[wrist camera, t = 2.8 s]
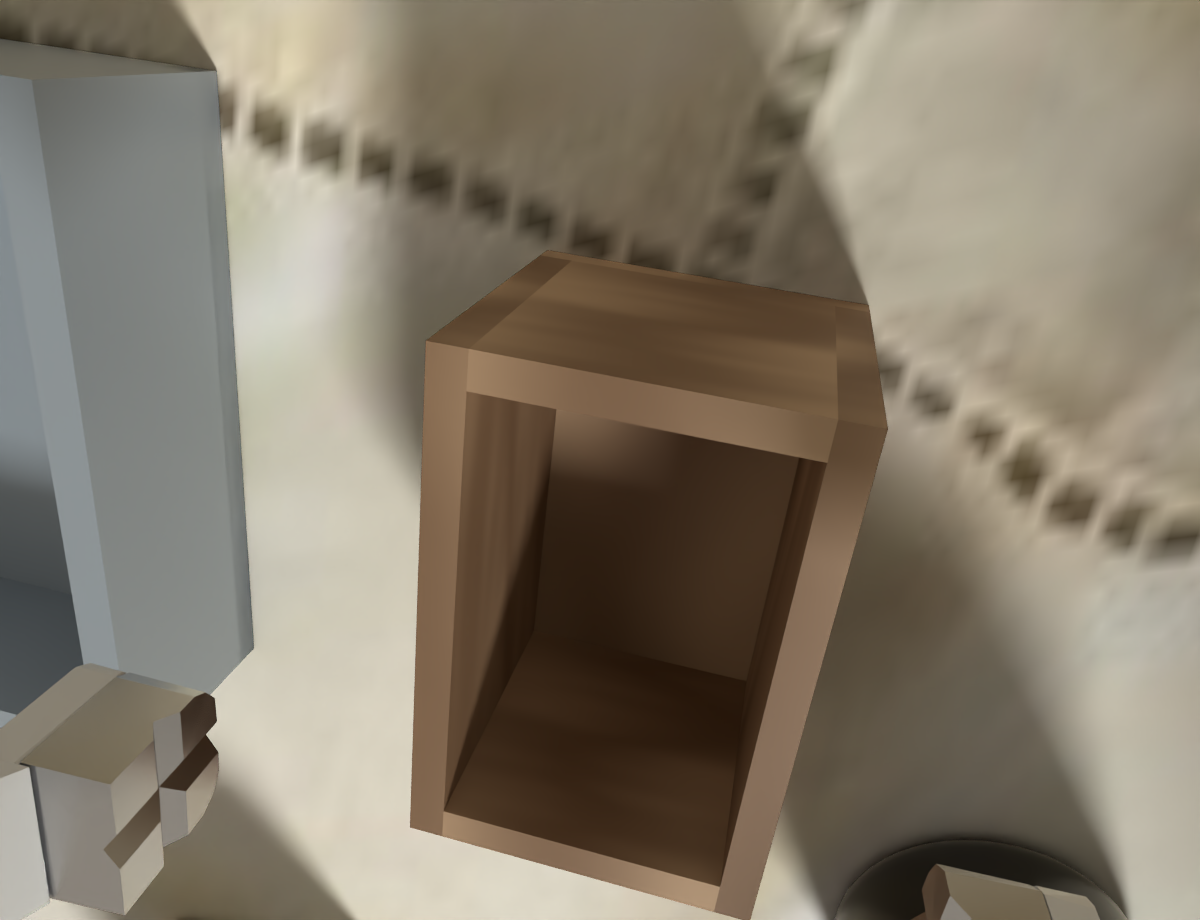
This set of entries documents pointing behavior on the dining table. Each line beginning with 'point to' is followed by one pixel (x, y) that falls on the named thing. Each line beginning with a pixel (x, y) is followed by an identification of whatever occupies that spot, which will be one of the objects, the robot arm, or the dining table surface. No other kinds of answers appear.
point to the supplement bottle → (894, 885)
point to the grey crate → (116, 377)
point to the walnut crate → (633, 566)
